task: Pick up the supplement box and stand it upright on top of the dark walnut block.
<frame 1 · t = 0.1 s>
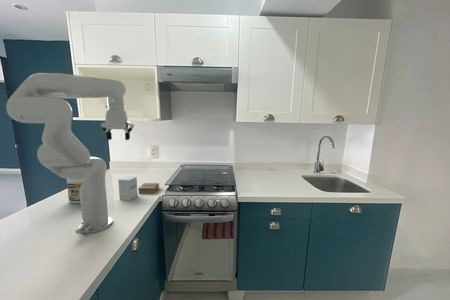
hand: (118, 139, 104), 37 cm above the counter, tool pointing down, fingers open, 9 cm apart
supplement tub: (82, 200, 113), on the counter
walnut block: (149, 191, 129), on the counter
supplement box: (129, 198, 117), on the counter
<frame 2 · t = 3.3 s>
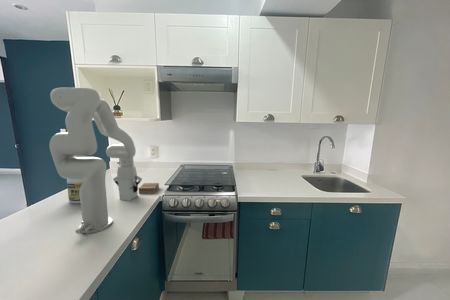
hand: (128, 191, 116), 4 cm above the counter, tool pointing down, fingers closed on supplement box, 8 cm apart
supplement box: (129, 198, 117), on the counter, touching gripper
everything else where it was.
when the fingers open (9 cm above the counter, at t = 9.9 s): supplement box drops 2 cm, resting on walnut block.
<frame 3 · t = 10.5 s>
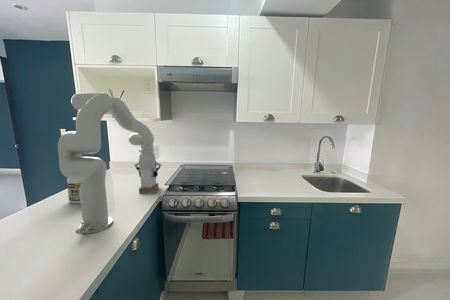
hand: (148, 176, 127), 10 cm above the counter, tool pointing down, fingers open, 9 cm apart
walnut block: (149, 191, 129), on the counter, touching supplement box
supplement box: (148, 185, 128), point 3 cm above the counter, touching walnut block
everything else where it was.
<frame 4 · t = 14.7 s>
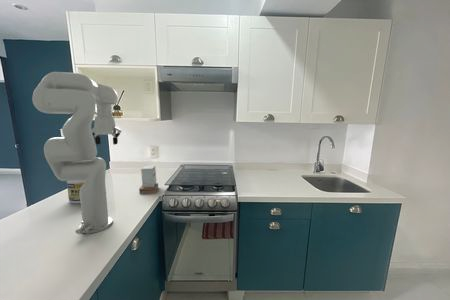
hand: (106, 144, 110), 33 cm above the counter, tool pointing down, fingers open, 9 cm apart
walnut block: (149, 191, 128), on the counter
supplement box: (149, 185, 128), point 4 cm above the counter
everything else where it was.
at the end: supplement box 0.7 cm off-centre on the walnut block, point 4.0 cm above the walnut block's base; supplement box tilted 2°; the gripper is holding nothing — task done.
